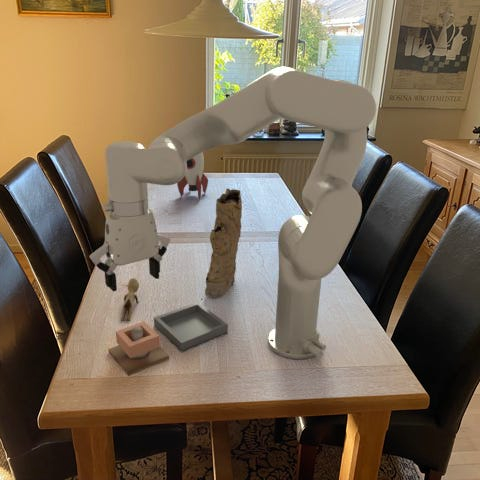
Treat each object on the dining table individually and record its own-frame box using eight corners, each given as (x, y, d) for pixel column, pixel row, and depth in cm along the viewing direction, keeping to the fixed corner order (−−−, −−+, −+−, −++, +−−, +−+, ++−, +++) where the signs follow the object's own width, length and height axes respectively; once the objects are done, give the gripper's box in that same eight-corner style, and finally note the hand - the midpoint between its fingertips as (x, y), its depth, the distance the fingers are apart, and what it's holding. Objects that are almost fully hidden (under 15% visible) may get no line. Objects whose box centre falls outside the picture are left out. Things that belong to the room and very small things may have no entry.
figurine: (133, 327, 125) (141, 287, 137) (131, 314, 123) (139, 275, 135) (119, 327, 125) (128, 287, 137) (116, 315, 123) (126, 275, 135)
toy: (177, 197, 214) (175, 127, 202) (186, 190, 223) (185, 123, 211) (201, 200, 211) (200, 129, 199) (209, 193, 220) (209, 125, 208)
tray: (227, 333, 120) (227, 324, 119) (181, 352, 113) (181, 342, 112) (198, 310, 130) (198, 301, 129) (154, 326, 122) (153, 317, 121)
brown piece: (169, 359, 110) (168, 332, 108) (128, 376, 105) (125, 348, 102) (148, 337, 118) (146, 312, 115) (108, 352, 112) (106, 326, 109)
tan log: (203, 282, 144) (202, 183, 132) (238, 281, 145) (241, 183, 133) (206, 307, 131) (205, 200, 119) (244, 305, 132) (248, 199, 121)
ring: (159, 347, 110) (159, 335, 108) (130, 358, 106) (129, 346, 104) (144, 332, 115) (144, 321, 113) (116, 342, 111) (115, 331, 109)
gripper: (93, 220, 90) (101, 301, 97) (176, 203, 100) (178, 278, 106) (79, 208, 95) (87, 286, 102) (158, 193, 105) (161, 265, 112)
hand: (133, 282), depth 104 cm, fingers open, 9 cm apart
